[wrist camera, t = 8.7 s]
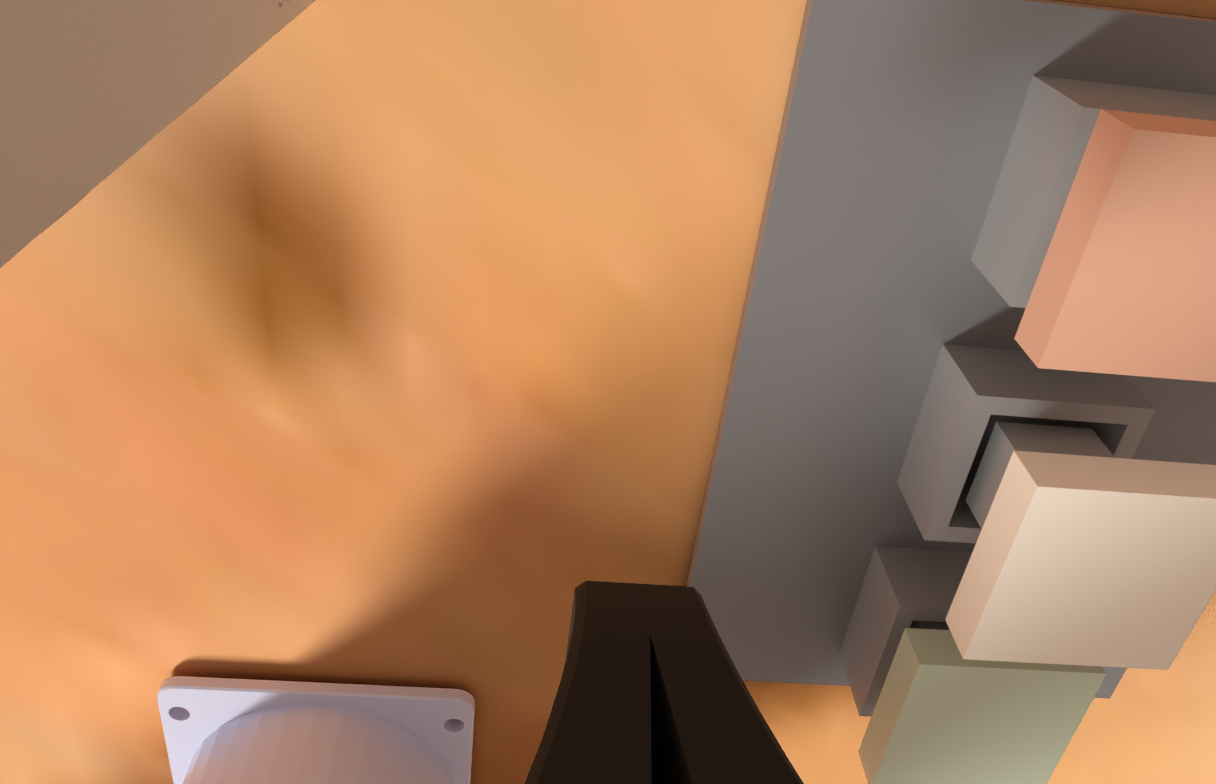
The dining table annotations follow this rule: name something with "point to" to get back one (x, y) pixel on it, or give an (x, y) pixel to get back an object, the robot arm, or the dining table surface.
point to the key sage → (971, 715)
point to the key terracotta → (1132, 256)
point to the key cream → (1083, 553)
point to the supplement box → (105, 89)
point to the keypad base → (917, 315)
